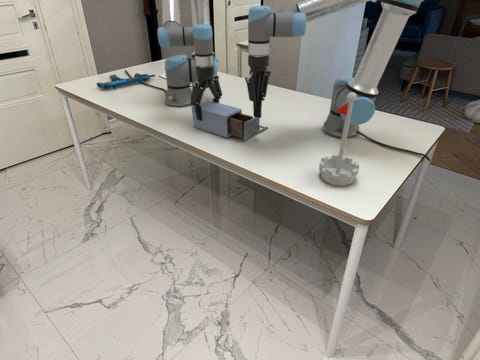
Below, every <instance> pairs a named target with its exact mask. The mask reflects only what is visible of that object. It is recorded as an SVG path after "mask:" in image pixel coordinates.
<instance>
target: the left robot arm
mask: <svg viewBox="0 0 480 360" xmlns="http://www.w3.org/2000/svg"><path fill="white" fill-rule="evenodd" d="M161 4H162V7H161V8H162V9H161V10H162V26H160V27H157V40H158V45H159V46H160V47H162V48H163V47H165V48H173V47H176V48H177V47H193V50H194V51H193V52H192V53H191V57H188V55H186V54H176V55H171V56H168V57H167V58H165V60H164V71H165V74H166V79H165V80H166V88H167V89H164V88H163V87H160V86H155V85H153V84H152V85H151V84H149V83H145V82H144V81H142V82H138V83H139V84H142V85H144V86H147V87H151V88H154V89H157V90H161V91H164V93H165V99H164V100H165V105H167V106H170V107H174V108H175V107H176V108H181V107H188V106H195V113H196V118H197V120H200V121H202V112H201V106H200V103H201V102H202V99H203V96H204V93H205V91H206V89H209V91H210V93H211V94H212V96H213V98H212V101H213V102H216V103H220V100H221V99H222V96H223V92H222V88H221V84H220V81H219V80H220V76H219V75H218V69H219V68H218V67H219V57H217V56H216V53H215V52H214V43H213V41H214V40H213V37H214V36H213V28H212V25H211V16H210V15H211V14H210V13H211V12H210V0H190V7H191V8H190V9H191V20H192V21H191V22H192V26H182V25H181V23H182V22H181V9H180V8H181V6H180V5H181V4H180V0H161ZM124 72H125V74H126V75H127V76H128V78H133V77H134V76H133V77H132V75H130V73H129V72H128V71H127V69H125V70H124ZM190 82H192V86H190ZM191 87H192V88H191Z"/></svg>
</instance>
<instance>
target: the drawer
mask: <svg viewBox="0 0 480 360" xmlns="http://www.w3.org/2000/svg"><path fill="white" fill-rule="evenodd" d="M260 118H261V117H260ZM260 118H257V117H254V116H253V115H249V114H245V113H242V114H241V113H237V114H234V115H232V116H230V117H228V133H229V134H233V135H232V136H236V137H239V138H243V141H249V140H251V139H252V138H254V137H256V136H258V135H260V134H262V133H264V132H265V131H267V130H269V127H268V126H264V125H261V124H260V120H261V119H260Z"/></svg>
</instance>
